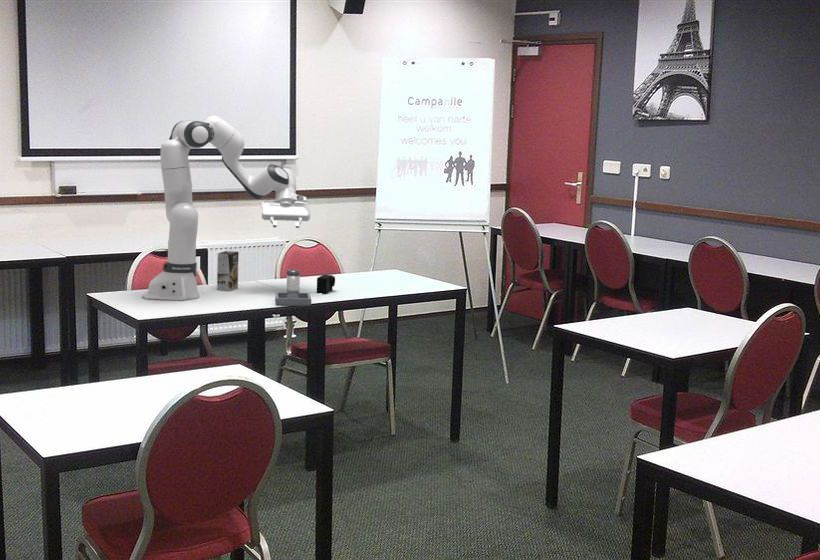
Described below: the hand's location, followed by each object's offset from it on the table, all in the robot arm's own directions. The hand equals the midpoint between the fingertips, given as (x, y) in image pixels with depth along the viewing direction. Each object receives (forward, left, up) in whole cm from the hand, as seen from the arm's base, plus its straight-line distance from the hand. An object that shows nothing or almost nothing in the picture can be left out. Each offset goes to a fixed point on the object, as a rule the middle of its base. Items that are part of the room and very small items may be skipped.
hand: (286, 226), depth 400 cm
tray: (+3, -15, -29) cm, 33 cm away
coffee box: (-24, +15, -30) cm, 41 cm away
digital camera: (+18, +11, -30) cm, 37 cm away
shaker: (+3, -15, -29) cm, 33 cm away
